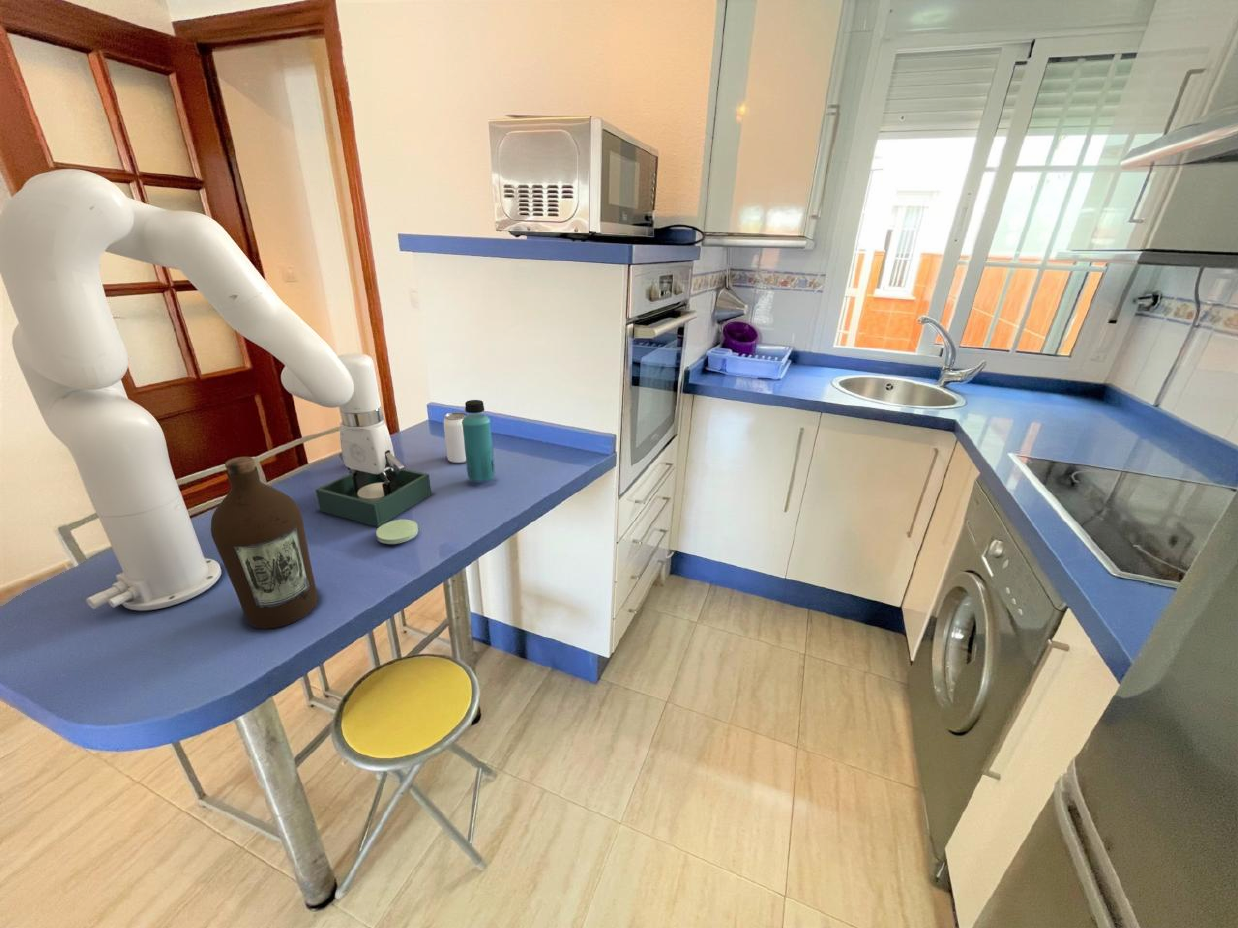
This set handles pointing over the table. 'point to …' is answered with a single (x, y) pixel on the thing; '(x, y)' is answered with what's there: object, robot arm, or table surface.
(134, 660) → the table surface
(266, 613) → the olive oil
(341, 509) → the tub
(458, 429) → the can
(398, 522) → the pale green disc
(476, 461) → the beverage bottle
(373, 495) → the beige disc
